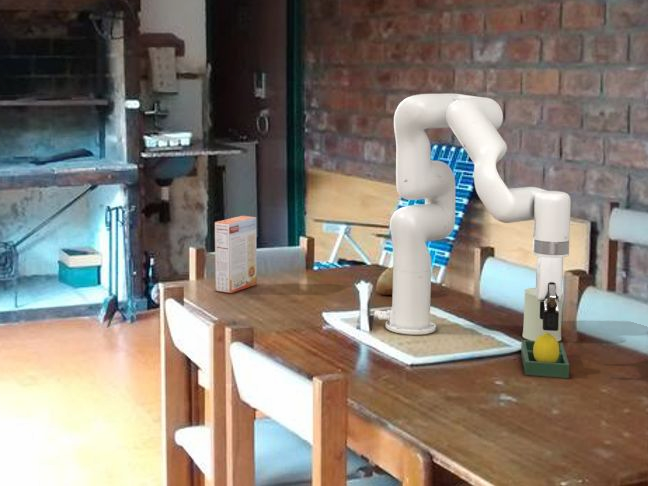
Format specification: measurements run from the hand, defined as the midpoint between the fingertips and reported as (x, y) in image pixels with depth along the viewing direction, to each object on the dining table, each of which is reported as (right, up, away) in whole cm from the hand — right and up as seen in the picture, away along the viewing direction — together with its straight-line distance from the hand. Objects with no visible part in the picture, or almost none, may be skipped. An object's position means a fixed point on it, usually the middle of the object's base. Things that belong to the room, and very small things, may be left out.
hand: (548, 324), depth 223 cm
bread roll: (-20, -2, +73) cm, 76 cm away
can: (+7, -8, +28) cm, 29 cm away
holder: (+1, -10, +6) cm, 11 cm away
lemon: (0, -10, +1) cm, 10 cm away
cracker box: (-68, -1, +78) cm, 104 cm away
